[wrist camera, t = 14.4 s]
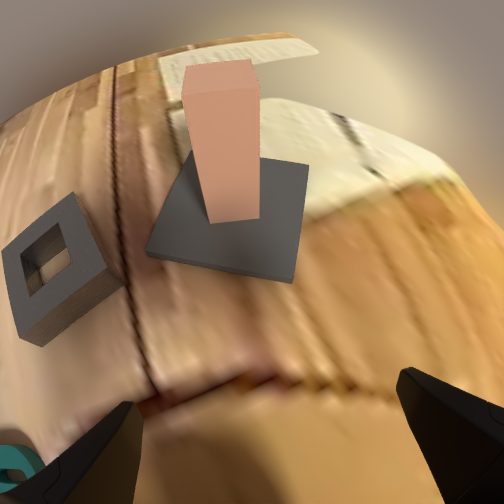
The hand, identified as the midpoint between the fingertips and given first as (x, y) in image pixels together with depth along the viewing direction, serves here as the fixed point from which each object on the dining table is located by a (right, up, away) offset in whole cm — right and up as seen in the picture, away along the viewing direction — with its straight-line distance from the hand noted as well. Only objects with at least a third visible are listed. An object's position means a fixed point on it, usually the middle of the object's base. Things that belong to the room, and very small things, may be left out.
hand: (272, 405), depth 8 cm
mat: (-2, +9, +19) cm, 21 cm away
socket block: (-20, +3, +16) cm, 26 cm away
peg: (-2, +9, +18) cm, 21 cm away
